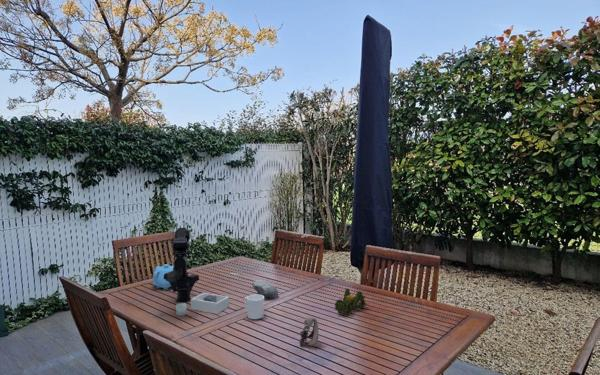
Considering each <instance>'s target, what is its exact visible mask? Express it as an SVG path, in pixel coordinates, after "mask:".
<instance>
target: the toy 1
mask: <svg viewBox="0 0 600 375" xmlns="http://www.w3.org/2000/svg"><path fill="white" fill-rule="evenodd" d="M318 323H319V322H318V319H317V318H315V317H314V314H313V315H312V318H311V317H310V316H306V317H305V318H304V320H303V324H304V328H303V330H302V331H300V332H299V334H300V341H299V344H300V345H299V347H303V345H304V344H306V343H307V341H308V339H311V340H310V342H309V343H308V344H307V345H308V346H311V347H312V348H315V346H316V345H317V344H318V342H319V341H318V340H319V324H318ZM312 325H313V328H312V331H311V333H309V331H310V329H311V326H312Z"/></svg>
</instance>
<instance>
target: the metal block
mask: <svg viewBox="0 0 600 375" xmlns="http://www.w3.org/2000/svg"><path fill="white" fill-rule="evenodd" d="M203 301H209V302H215V303H216V296H212V295H208V296H206V297H204V298H203Z"/></svg>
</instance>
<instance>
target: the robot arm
mask: <svg viewBox="0 0 600 375" xmlns="http://www.w3.org/2000/svg"><path fill="white" fill-rule="evenodd" d="M189 240H191V231H190V230H188V229H187V227H178V228H176V230H175V231H174V241H173V242H172V253H171V255H172V256H174V261H173V266H174V267H173V271H170V272H168V273H165V274H164V279H166V281H168V282H169V283H170V285H171V289H172V292H173V293H176V292H177V293H176V298H177V299H176V300H175V302H178V303H186V302H189V301H191V299H192V297H191V292H192V290H193V287H194V285H195V283H197V282H198V281H199V280H200V276H199V274H193V273H192V274H190V275H189V272H188V268H189V264H188V262H187V258H188V256H187V255H188V254H189V252H190V241H189Z"/></svg>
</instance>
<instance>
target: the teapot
mask: <svg viewBox="0 0 600 375" xmlns="http://www.w3.org/2000/svg"><path fill="white" fill-rule="evenodd" d="M173 267H174V265H169V264H167V263H166V264H163V266H158V265H155V266H154V271H153V275H152V283H153V285H154V286H155V288H156V289H160V288H163V289H162V290H163V291H167V290H169V288H170V287H171V285H170V283H169V282H168V281H166V279H164V274H165V273H168V272H170V271H173ZM171 288H172V287H171Z"/></svg>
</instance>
